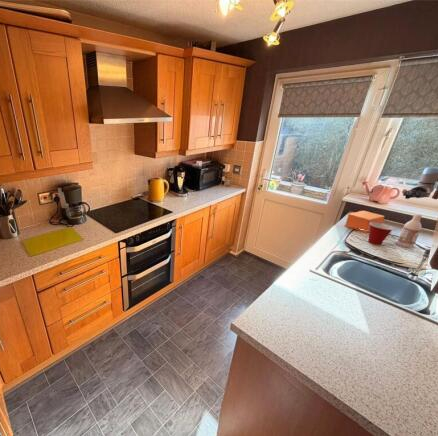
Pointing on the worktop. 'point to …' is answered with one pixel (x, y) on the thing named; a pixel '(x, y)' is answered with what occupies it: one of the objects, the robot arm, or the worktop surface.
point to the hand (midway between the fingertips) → (407, 196)
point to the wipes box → (361, 223)
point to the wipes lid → (366, 215)
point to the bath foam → (410, 232)
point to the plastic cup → (378, 233)
